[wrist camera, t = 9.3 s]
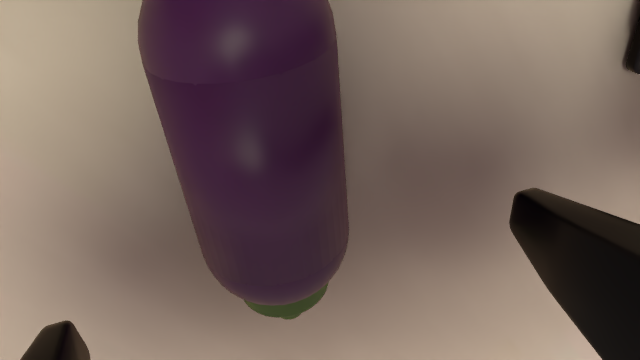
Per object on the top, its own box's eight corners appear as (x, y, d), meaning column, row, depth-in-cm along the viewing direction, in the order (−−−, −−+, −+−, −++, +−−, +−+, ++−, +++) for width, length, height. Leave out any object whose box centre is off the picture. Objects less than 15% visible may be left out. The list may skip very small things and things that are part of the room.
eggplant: (111, -64, 12) (102, -24, 8) (296, -90, 12) (363, -64, 9) (217, 282, 19) (237, 386, 15) (330, 249, 20) (374, 340, 16)
